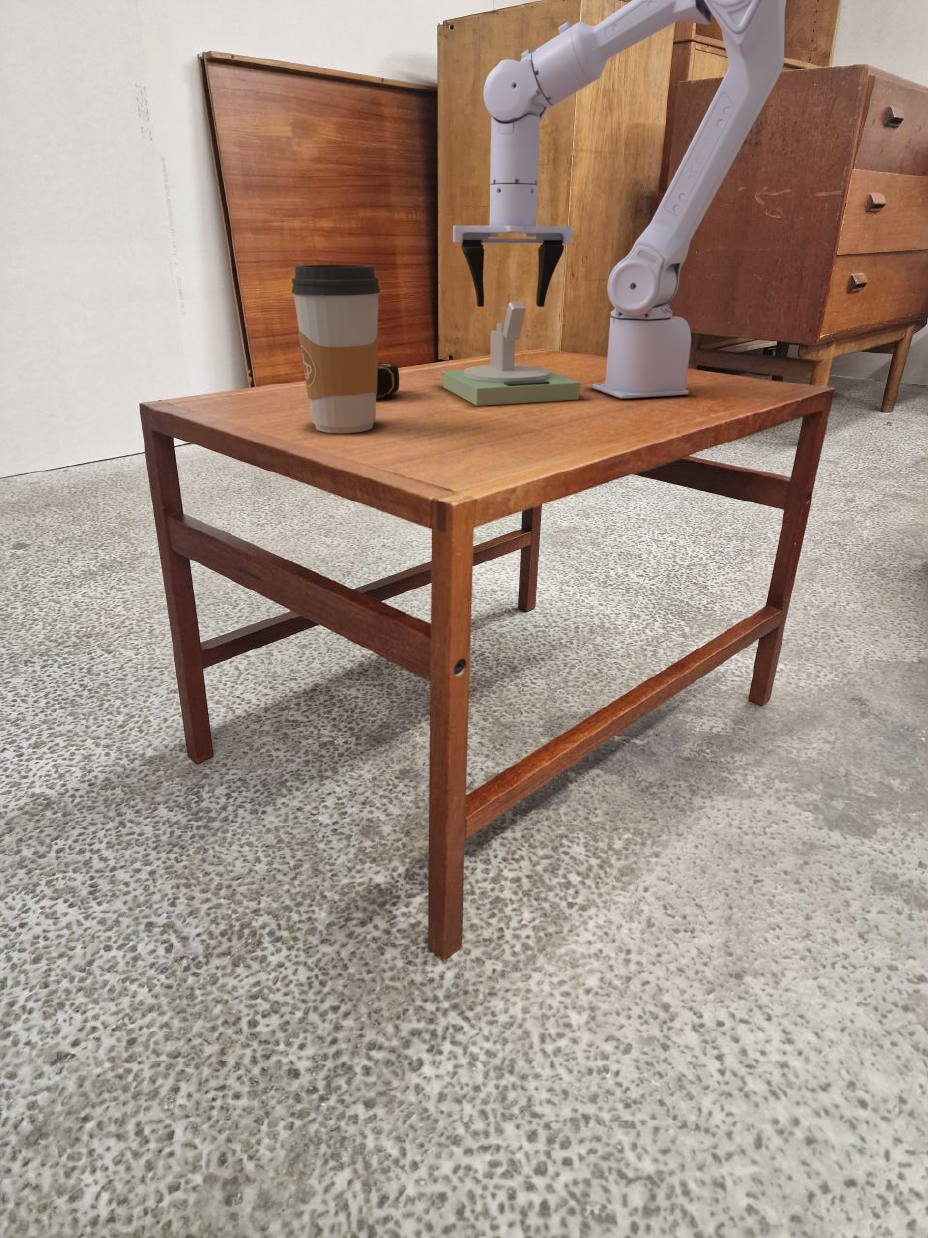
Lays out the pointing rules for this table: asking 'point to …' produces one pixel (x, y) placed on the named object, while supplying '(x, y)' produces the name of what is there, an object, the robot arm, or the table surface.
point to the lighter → (506, 338)
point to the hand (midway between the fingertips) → (510, 306)
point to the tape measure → (387, 379)
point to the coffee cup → (339, 343)
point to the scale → (509, 385)
